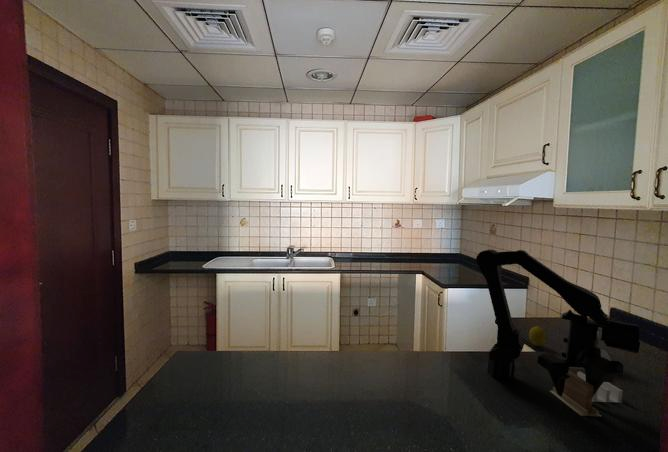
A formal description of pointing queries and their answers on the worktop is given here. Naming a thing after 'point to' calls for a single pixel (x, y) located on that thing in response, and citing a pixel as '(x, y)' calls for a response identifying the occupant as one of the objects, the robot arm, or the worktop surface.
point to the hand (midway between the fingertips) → (574, 396)
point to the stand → (576, 405)
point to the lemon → (537, 336)
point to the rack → (605, 392)
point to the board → (579, 391)
